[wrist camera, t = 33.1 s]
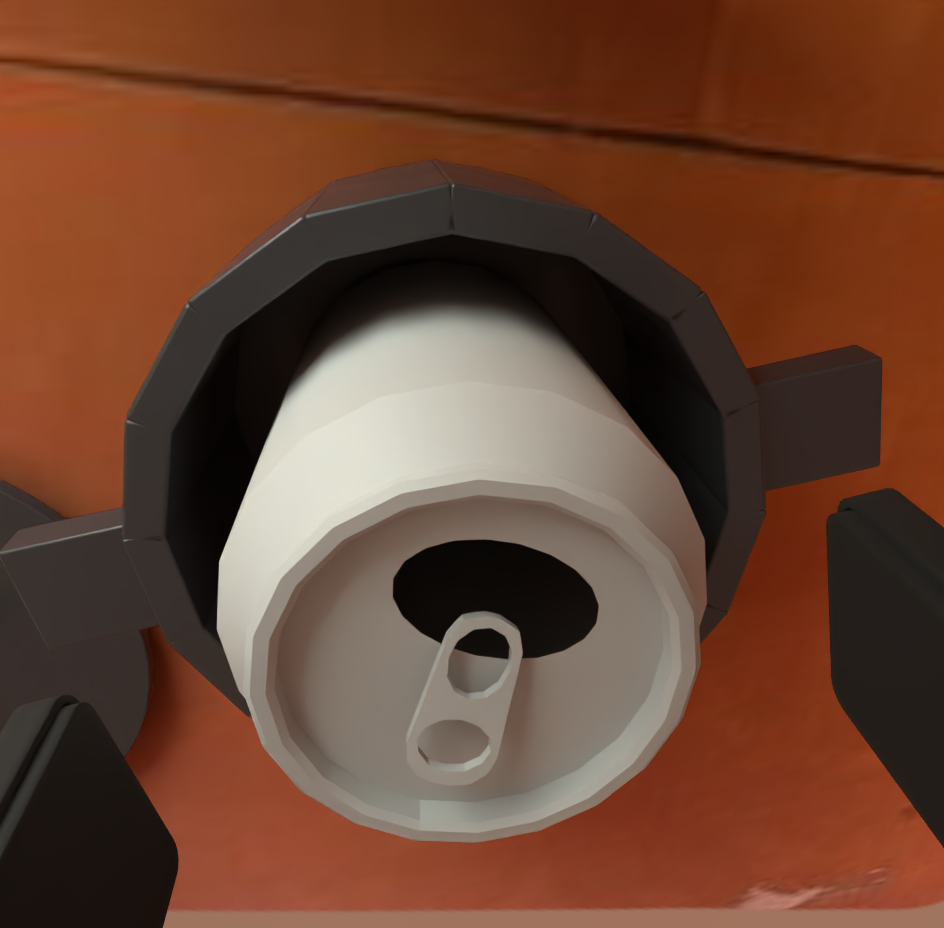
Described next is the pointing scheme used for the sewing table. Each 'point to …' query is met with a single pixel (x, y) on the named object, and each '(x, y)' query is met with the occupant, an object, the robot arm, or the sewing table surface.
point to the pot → (402, 243)
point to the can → (458, 568)
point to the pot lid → (67, 649)
